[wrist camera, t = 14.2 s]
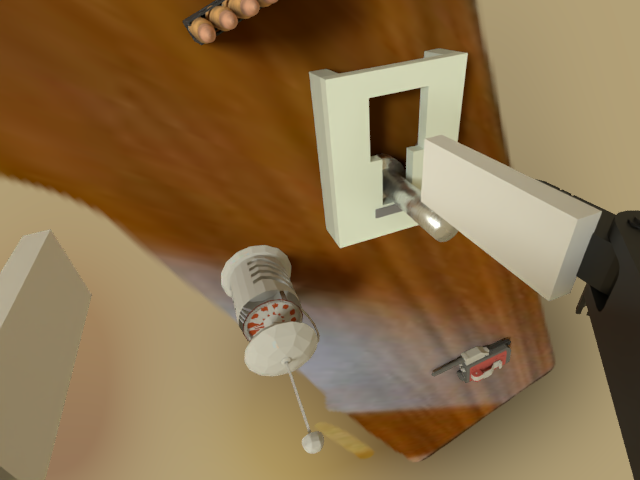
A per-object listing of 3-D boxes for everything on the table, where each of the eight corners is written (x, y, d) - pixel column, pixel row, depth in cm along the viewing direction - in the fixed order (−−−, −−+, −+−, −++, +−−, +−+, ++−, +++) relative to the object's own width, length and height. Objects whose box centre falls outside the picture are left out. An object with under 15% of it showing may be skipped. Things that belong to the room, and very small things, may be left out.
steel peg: (358, 158, 46) (424, 212, 34) (397, 149, 48) (474, 198, 36) (360, 197, 50) (421, 258, 38) (396, 187, 51) (467, 243, 39)
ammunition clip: (282, -42, 33) (329, -59, 24) (292, -19, 34) (340, -27, 25) (182, 21, 33) (189, 29, 24) (194, 41, 34) (206, 57, 25)
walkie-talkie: (506, 329, 82) (428, 367, 79) (521, 343, 79) (440, 383, 76) (503, 352, 87) (429, 388, 84) (517, 367, 84) (441, 405, 81)
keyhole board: (309, 71, 39) (326, 80, 35) (439, 48, 42) (469, 53, 38) (326, 228, 50) (340, 249, 46) (428, 200, 54) (449, 216, 50)
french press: (247, 233, 47) (308, 403, 27) (314, 266, 53) (402, 423, 33) (206, 289, 49) (233, 484, 29) (274, 314, 55) (335, 488, 36)
